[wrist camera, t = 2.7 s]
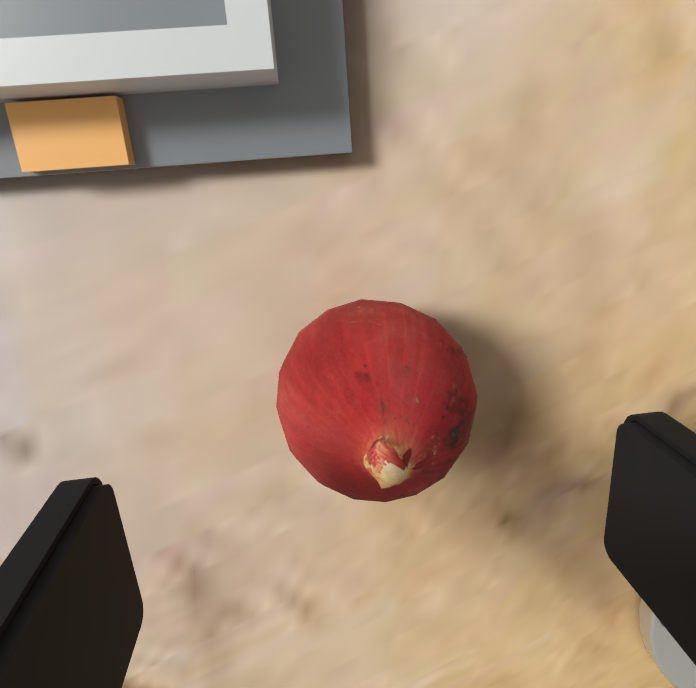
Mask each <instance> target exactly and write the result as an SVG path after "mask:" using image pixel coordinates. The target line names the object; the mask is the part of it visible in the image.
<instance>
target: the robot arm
mask: <svg viewBox="0 0 696 688" xmlns="http://www.w3.org/2000/svg"><path fill="white" fill-rule="evenodd" d="M604 544H605V548H606V552H607V554H608V556H609V558H610V559H611V561H612V562H613V563H614V565H615V566H616V567H617V568H618V569H619V571H620V572H621V573H622V574H623V576H624V577H625V578H626V579H627V581H628V582H629V583H630V584H631V586H632V587H633V588H634V589H635V591H636V592H637V593H638V594H639V596H640V597H641V602H640V608H639V623H640V632H641V636H642V639H643V642H644V645H645V648H646V650H647V651H648V653H649V654H650V656H651V657H652V659H653V660H654V662H655V663H656V665H657V666H658V668H659V669H660V671H661V672H662V673H663V674H664V676H665V677H666V678H667V679H668V680H669V681H670V683H671V684H672V685H673V686H675V687H676V688H696V434H695V433H694V432H692V431H691V430H690V429H688V428H687V427H685V426H684V425H682V424H681V423H679V422H678V421H676V420H675V419H673V418H672V417H670V416H669V415H667V414H665V413H663V412H652V413H643V414H635V415H630V416H628V417H627V418H626V420H625V422H624V424H621V425H619V427H618V429H617V434H616V443H615V451H614V460H613V468H612V476H611V485H610V493H609V502H608V510H607V518H606V527H605V535H604ZM142 619H143V602H142V598H141V594H140V590H139V586H138V583H137V579H136V575H135V571H134V567H133V563H132V560H131V556H130V552H129V548H128V544H127V540H126V537H125V533H124V529H123V525H122V521H121V518H120V514H119V510H118V506H117V502H116V498H115V495H114V491H113V488H112V487H111V485H109V484H106V485H102V482H101V481H100V479H98V478H96V477H94V478H86V479H77V480H69V481H63V482H61V483H60V484H59V485H58V486H57V487H56V488H55V490H54V491H53V493H52V494H51V496H50V497H49V498H48V500H47V501H46V503H45V504H44V505H43V507H42V508H41V510H40V511H39V513H38V514H37V515H36V517H35V518H34V520H33V521H32V522H31V524H30V525H29V527H28V528H27V530H26V531H25V532H24V534H23V535H22V537H21V538H20V539H19V541H18V542H17V544H16V545H15V547H14V548H13V549H12V551H11V552H10V554H9V555H8V557H7V558H6V559H5V561H4V562H3V564H2V565H1V566H0V688H122V685H123V682H124V678H125V675H126V672H127V669H128V666H129V663H130V659H131V656H132V653H133V650H134V647H135V644H136V640H137V637H138V634H139V631H140V628H141V624H142Z"/></svg>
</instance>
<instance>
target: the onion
mask: <svg viewBox="0 0 696 688" xmlns="http://www.w3.org/2000/svg"><path fill="white" fill-rule="evenodd" d="M476 403H477V393H476V390H475V386H474V382H473V379H472V375H471V372H470V368H469V365H468V361H467V357H466V355H465V353H464V352H463V350H462V348H461V347H460V346H459V345H458V344H457V342H456V341H455V340H454V339H453V338H452V337H451V336H450V335H449V334H448V333H447V332H446V330H445V329H444V328H443V327H442V326H441V325H440V324H439V323H438V322H437V321H436V319H434V318H431V317H429V316H427V315H425V314H423V313H421V312H419V311H417V310H415V309H412V308H410V307H408V306H406V305H404V304H402V303H396V302H386V301H374V300H362V299H361V300H358V301H355V302H352V303H348V304H345V305H342V306H339V307H335V308H332V309H329V310H327V311H326V312H324V313H323V314H322V315H320V316H319V317H318V318H317V319H315V320H314V321H313V322H311V323H310V324H309V325H308V326H306V327H305V328H304V329H302V330H301V331H300V332H299V334H298V336H297V337H296V339H295V341H294V343H293V345H292V347H291V349H290V351H289V353H288V355H287V356H286V358H285V360H284V362H283V365H282V367H281V369H280V372H279V382H278V394H277V406H276V407H277V411H278V414H279V418H280V421H281V424H282V428H283V431H284V434H285V437H286V440H287V443H288V446H289V449H290V451H291V452H292V454H293V455H294V456H295V458H296V459H297V460H298V461H299V462H300V463H301V464H302V465H303V466H304V467H305V468H306V469H307V471H308V472H309V473H310V474H311V475H312V476H313V477H314V478H315V479H316V480H317V481H318V482H319V483H321V484H322V485H324V486H326V487H328V488H330V489H333V490H335V491H337V492H339V493H341V494H343V495H346V496H348V497H350V498H352V499H357V500H368V501H380V502H388V501H392V500H396V499H400V498H405V497H409V496H413V495H417V494H418V493H420V492H421V491H423V490H425V489H426V488H428V487H430V486H431V485H433V484H434V483H436V482H438V481H439V480H441V479H442V478H444V477H445V475H446V474H447V472H448V471H449V470H450V468H451V467H452V465H453V464H454V463H455V461H456V460H457V458H458V457H459V456H460V454H461V453H462V451H463V450H464V449H465V447H466V445H467V444H468V441H469V436H470V431H471V427H472V422H473V418H474V413H475V409H476Z"/></svg>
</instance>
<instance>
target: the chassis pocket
mask: <svg viewBox="0 0 696 688" xmlns="http://www.w3.org/2000/svg"><path fill="white" fill-rule="evenodd" d="M351 152H352V143H351V128H350V112H349V97H348V81H347V66H346V50H345V34H344V19H343V3H342V0H0V179H4V178H18V177H31V176H45V175H59V174H72V173H86V172H99V171H113V170H126V169H140V168H154V167H167V166H181V165H194V164H208V163H221V162H235V161H249V160H262V159H276V158H289V157H303V156H316V155H330V154H344V153H351Z"/></svg>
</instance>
